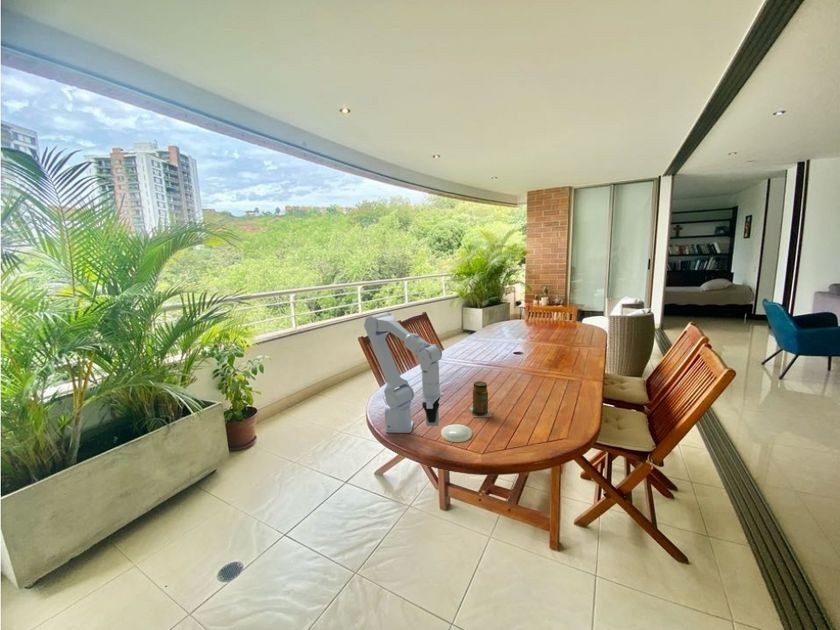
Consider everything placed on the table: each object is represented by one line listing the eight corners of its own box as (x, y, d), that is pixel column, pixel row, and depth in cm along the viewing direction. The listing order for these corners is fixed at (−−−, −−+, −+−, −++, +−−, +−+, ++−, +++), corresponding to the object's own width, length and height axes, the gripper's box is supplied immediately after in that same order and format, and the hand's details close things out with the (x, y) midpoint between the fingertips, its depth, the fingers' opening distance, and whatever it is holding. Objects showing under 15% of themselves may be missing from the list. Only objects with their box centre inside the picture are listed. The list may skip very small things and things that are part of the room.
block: (426, 425, 114) (425, 409, 113) (427, 419, 118) (426, 403, 117) (438, 425, 114) (437, 409, 113) (439, 420, 118) (438, 404, 117)
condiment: (486, 406, 141) (486, 379, 139) (492, 416, 133) (492, 387, 130) (469, 408, 141) (468, 380, 138) (473, 418, 132) (473, 389, 130)
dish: (440, 442, 117) (440, 439, 117) (442, 426, 128) (441, 423, 127) (472, 443, 116) (472, 440, 115) (471, 427, 126) (471, 424, 126)
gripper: (441, 390, 106) (443, 430, 108) (443, 373, 120) (445, 409, 122) (419, 390, 107) (421, 429, 109) (424, 373, 121) (425, 408, 123)
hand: (432, 418), depth 116 cm, fingers closed on block, 4 cm apart
